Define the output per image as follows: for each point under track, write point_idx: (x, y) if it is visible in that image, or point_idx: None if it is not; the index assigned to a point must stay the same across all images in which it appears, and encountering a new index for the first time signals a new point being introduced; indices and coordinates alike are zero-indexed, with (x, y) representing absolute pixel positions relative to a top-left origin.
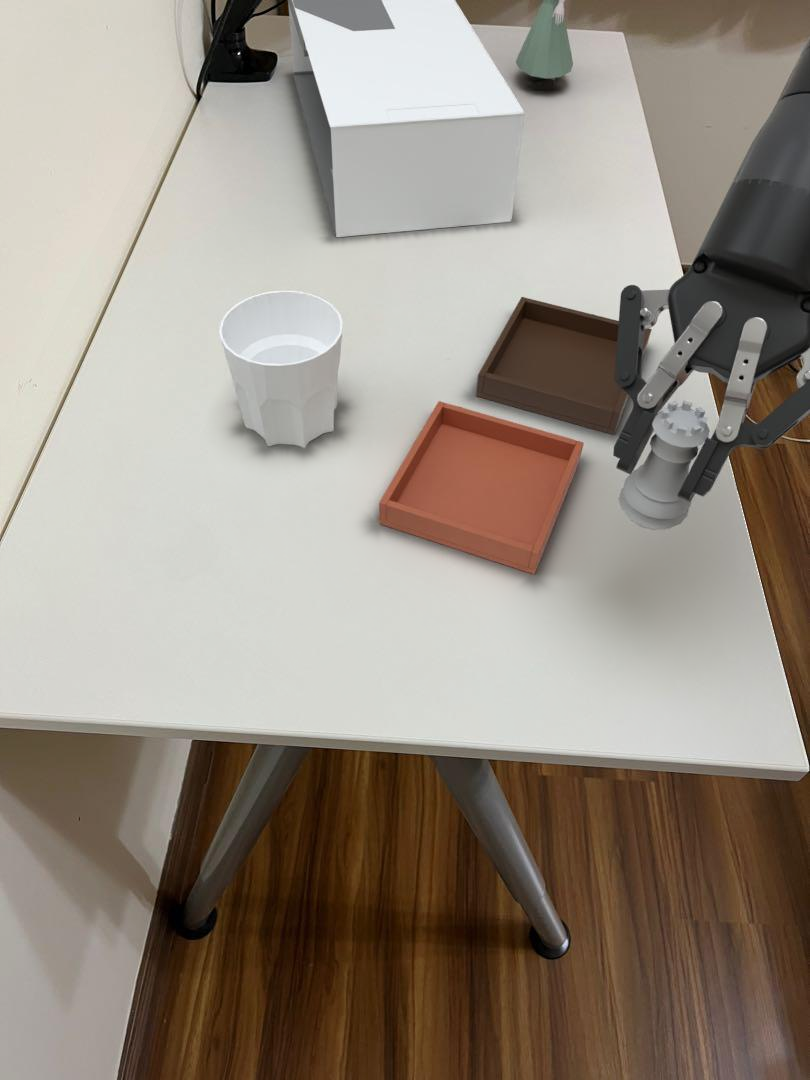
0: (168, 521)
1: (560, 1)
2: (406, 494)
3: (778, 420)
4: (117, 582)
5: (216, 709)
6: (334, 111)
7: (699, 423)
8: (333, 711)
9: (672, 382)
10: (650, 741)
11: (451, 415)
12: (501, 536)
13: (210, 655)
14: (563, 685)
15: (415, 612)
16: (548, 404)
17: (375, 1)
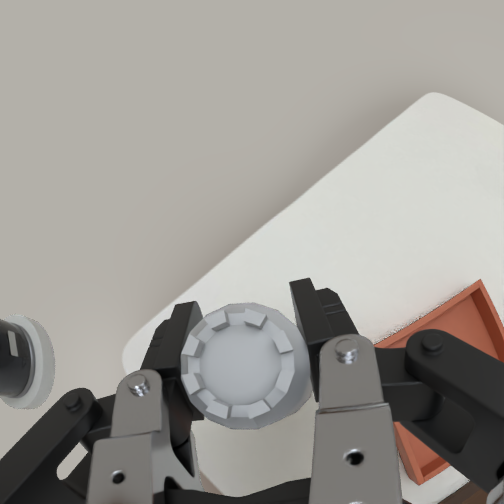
0: None
1: None
2: (479, 320)
3: (47, 429)
4: (484, 146)
5: (391, 132)
6: None
7: (205, 382)
8: (355, 167)
9: (319, 405)
10: (191, 299)
11: None
12: (399, 338)
13: (424, 147)
14: (265, 289)
15: (389, 252)
16: (467, 491)
17: None
